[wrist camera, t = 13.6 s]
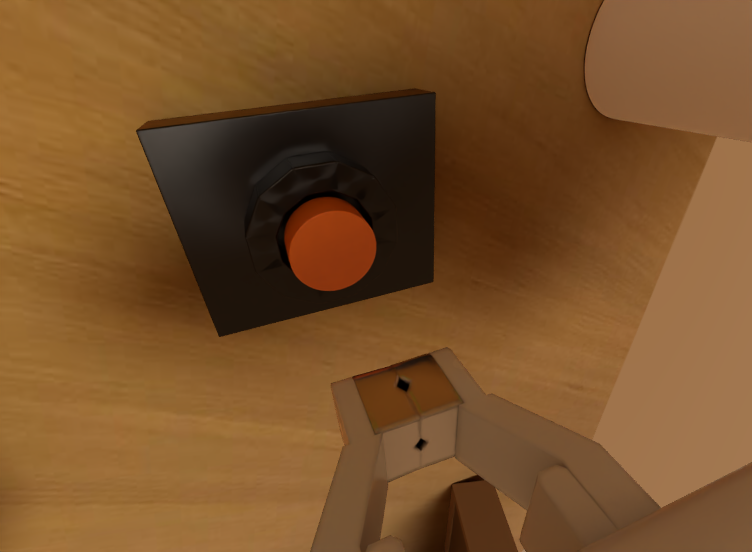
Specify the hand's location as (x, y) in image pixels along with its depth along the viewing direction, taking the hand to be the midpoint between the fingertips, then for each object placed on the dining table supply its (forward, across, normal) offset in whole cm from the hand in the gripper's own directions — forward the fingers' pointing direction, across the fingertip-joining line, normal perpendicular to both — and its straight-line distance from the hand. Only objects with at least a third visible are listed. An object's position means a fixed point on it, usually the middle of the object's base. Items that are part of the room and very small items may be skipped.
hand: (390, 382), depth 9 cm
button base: (+12, 0, 0) cm, 12 cm away
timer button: (+9, 0, 0) cm, 9 cm away
